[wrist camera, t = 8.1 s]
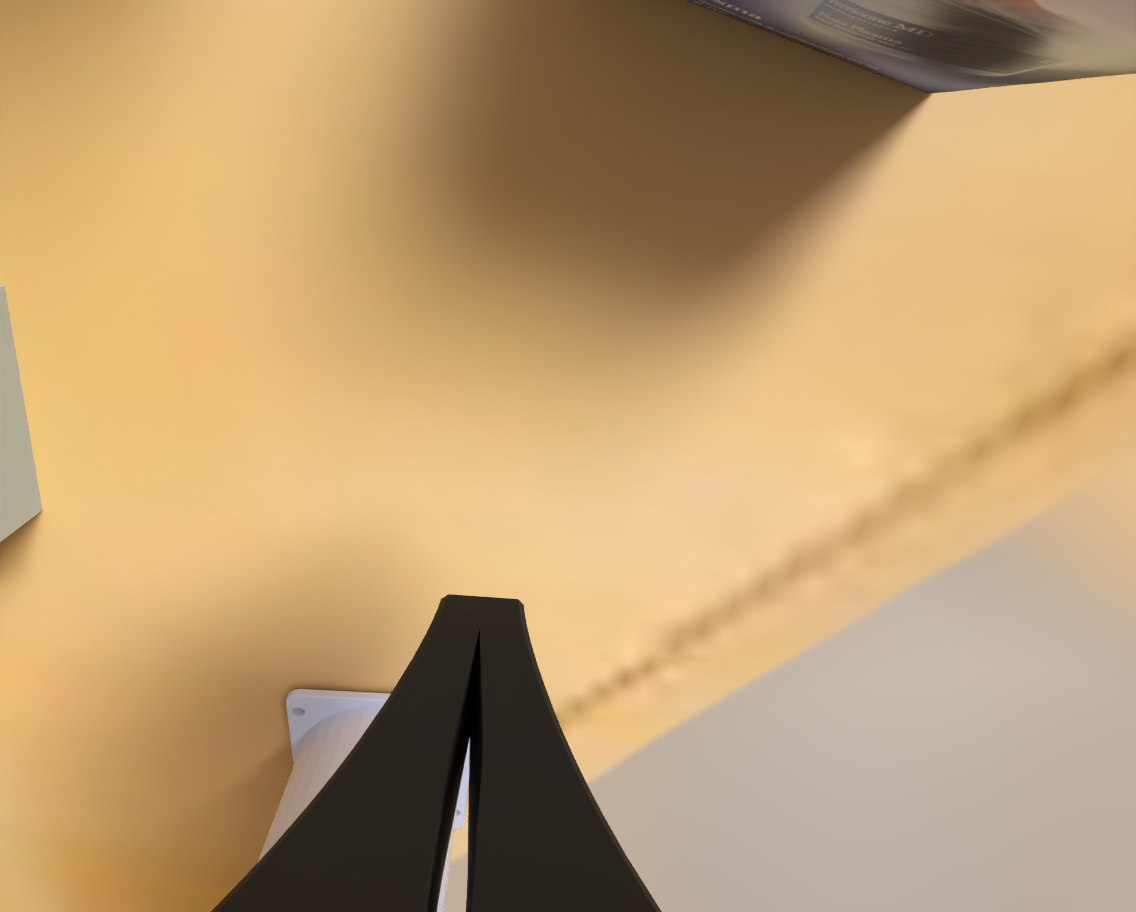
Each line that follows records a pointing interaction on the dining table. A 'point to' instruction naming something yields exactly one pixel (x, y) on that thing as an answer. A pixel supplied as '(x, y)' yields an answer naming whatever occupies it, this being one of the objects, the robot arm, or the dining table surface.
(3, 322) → the block
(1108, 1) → the small box
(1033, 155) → the dining table surface
